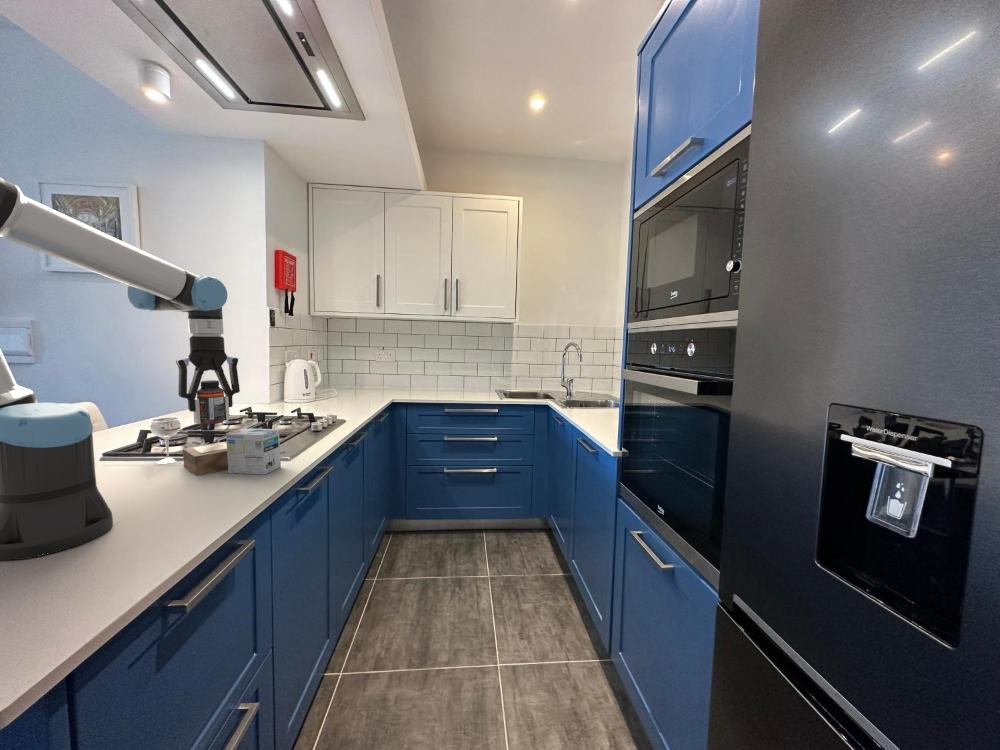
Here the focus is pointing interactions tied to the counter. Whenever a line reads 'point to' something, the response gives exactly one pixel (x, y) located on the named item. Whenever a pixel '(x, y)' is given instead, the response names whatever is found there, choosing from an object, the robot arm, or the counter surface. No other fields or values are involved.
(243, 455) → the light bulb box
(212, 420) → the supplement bottle
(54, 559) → the counter surface
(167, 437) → the wineglass
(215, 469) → the walnut riser
